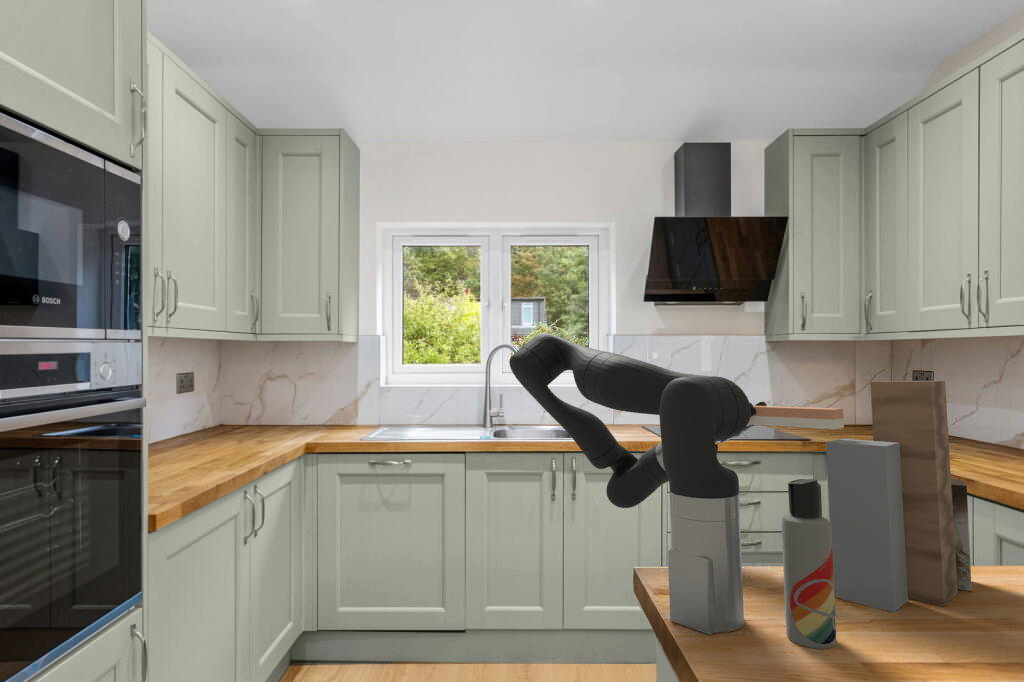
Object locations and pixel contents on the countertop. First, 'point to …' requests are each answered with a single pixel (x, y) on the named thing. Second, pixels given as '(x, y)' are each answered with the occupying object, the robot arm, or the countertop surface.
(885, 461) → the grey stand
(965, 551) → the coffee box
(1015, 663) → the countertop surface
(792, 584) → the lotion bottle
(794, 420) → the bar
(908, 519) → the walnut stand
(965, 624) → the countertop surface
